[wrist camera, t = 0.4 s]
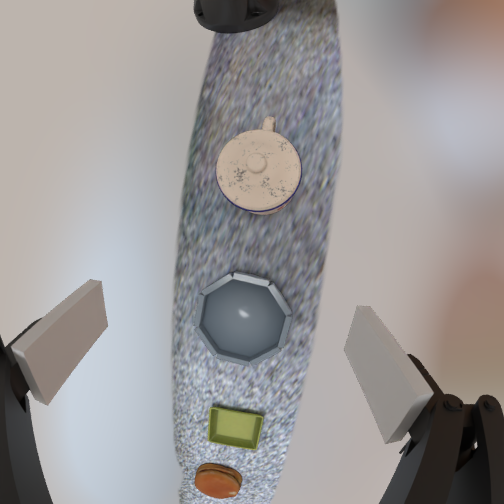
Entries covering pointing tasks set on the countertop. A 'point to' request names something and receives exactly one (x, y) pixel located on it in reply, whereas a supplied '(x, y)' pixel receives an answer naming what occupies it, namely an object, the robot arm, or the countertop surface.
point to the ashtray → (242, 318)
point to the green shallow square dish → (234, 428)
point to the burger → (217, 481)
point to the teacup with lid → (259, 170)
